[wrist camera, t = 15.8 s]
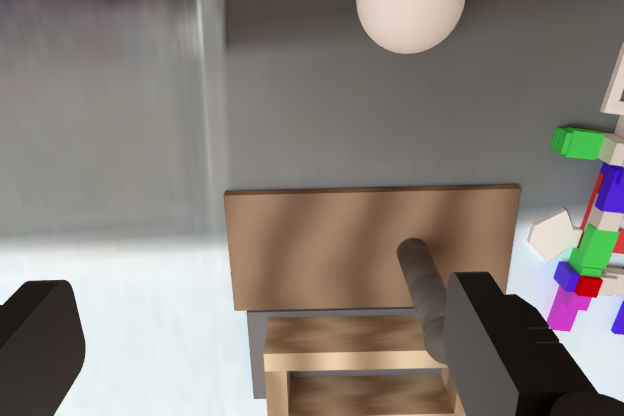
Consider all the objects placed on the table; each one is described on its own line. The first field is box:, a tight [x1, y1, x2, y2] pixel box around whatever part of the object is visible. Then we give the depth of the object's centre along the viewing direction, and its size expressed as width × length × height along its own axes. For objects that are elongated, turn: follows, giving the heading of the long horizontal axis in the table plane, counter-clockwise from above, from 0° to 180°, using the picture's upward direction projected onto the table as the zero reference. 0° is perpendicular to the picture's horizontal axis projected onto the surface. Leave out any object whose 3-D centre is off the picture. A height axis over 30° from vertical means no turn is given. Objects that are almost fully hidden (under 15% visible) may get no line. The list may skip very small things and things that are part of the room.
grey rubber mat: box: [247, 307, 441, 399], centre depth 48 cm, size 22×10×1 cm, turn 91°
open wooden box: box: [264, 315, 466, 416], centre depth 45 cm, size 18×9×5 cm, turn 91°
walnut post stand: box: [224, 185, 521, 365], centre depth 37 cm, size 24×11×14 cm, turn 91°
